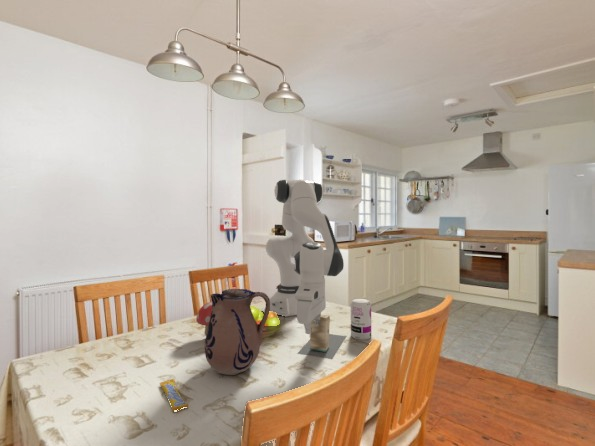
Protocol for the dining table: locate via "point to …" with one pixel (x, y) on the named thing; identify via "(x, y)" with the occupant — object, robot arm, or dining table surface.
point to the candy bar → (173, 394)
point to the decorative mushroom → (204, 315)
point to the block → (320, 334)
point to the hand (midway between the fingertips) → (312, 328)
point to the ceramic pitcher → (234, 331)
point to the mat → (334, 345)
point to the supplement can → (361, 319)
